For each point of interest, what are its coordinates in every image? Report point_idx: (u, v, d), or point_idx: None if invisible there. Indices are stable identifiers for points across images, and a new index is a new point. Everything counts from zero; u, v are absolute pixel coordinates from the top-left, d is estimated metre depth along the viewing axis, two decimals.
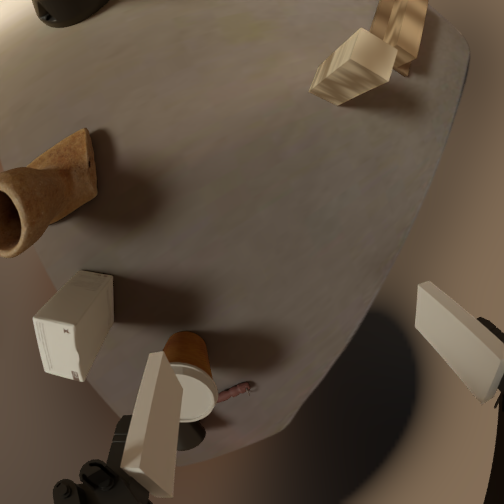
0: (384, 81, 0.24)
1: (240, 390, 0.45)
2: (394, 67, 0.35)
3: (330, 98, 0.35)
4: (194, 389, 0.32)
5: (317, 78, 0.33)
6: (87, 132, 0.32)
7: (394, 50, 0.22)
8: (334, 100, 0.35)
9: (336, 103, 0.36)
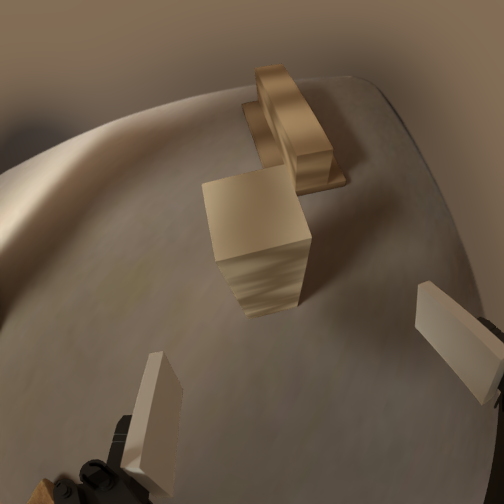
0: (305, 242, 0.14)
1: None
2: (324, 186, 0.30)
3: (278, 307, 0.25)
4: None
5: None
6: (47, 483, 0.18)
7: (280, 170, 0.15)
8: (286, 306, 0.25)
9: (292, 306, 0.26)
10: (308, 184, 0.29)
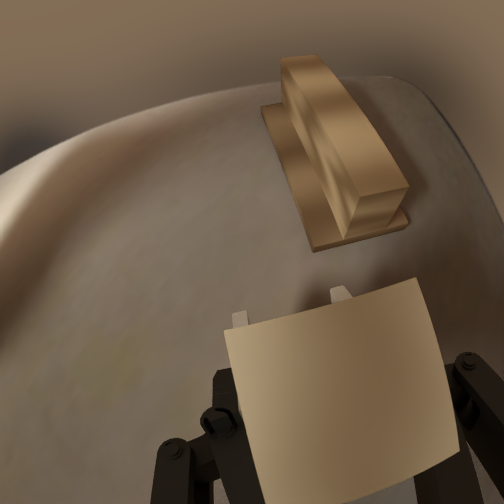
0: (443, 453, 0.05)
1: None
2: (381, 231, 0.21)
3: None
4: None
5: None
6: None
7: (409, 295, 0.06)
8: None
9: None
10: (362, 230, 0.20)
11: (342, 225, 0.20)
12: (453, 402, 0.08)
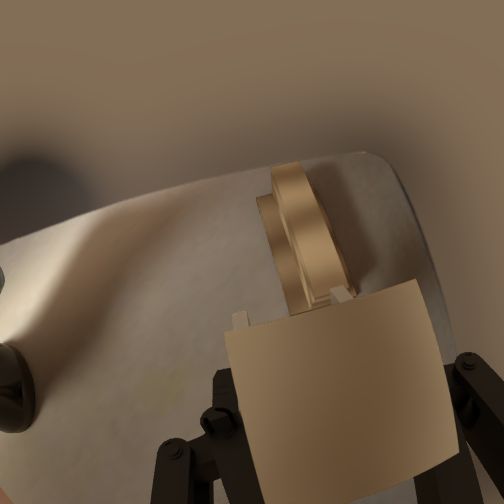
0: (442, 455, 0.05)
1: None
2: None
3: None
4: None
5: None
6: None
7: (409, 296, 0.06)
8: None
9: None
10: (322, 304, 0.32)
11: (309, 302, 0.32)
12: (453, 402, 0.08)
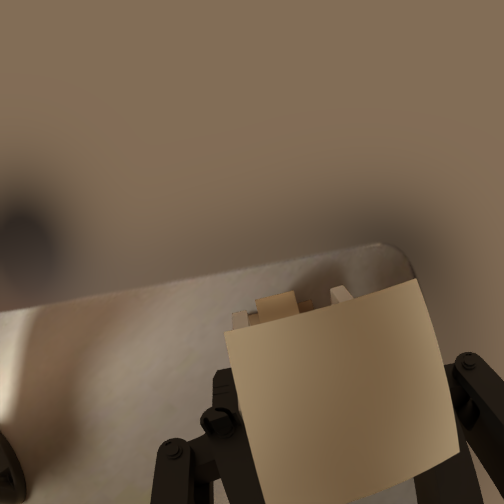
0: (443, 454, 0.05)
1: None
2: None
3: None
4: None
5: None
6: None
7: (409, 296, 0.06)
8: None
9: None
10: None
11: None
12: (453, 402, 0.08)
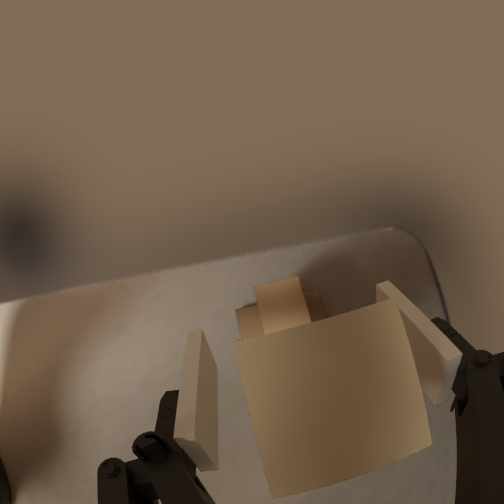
0: (418, 446, 0.06)
1: None
2: None
3: None
4: None
5: None
6: None
7: (387, 312, 0.07)
8: None
9: None
10: None
11: None
12: None
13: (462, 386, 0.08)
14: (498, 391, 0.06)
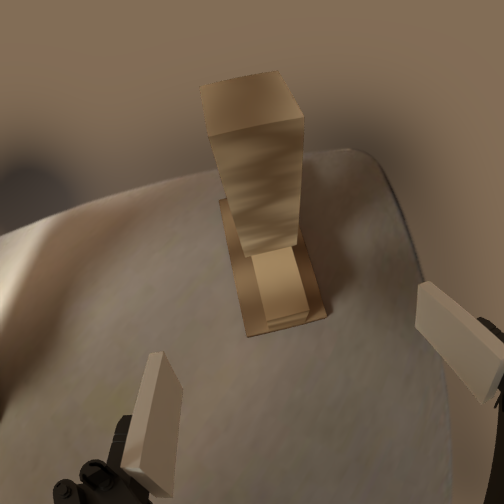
0: (298, 123, 0.13)
1: None
2: (302, 323, 0.28)
3: (276, 241, 0.24)
4: None
5: None
6: None
7: (273, 74, 0.14)
8: (284, 240, 0.24)
9: (291, 242, 0.25)
10: (283, 326, 0.27)
11: None
12: None
13: None
14: None
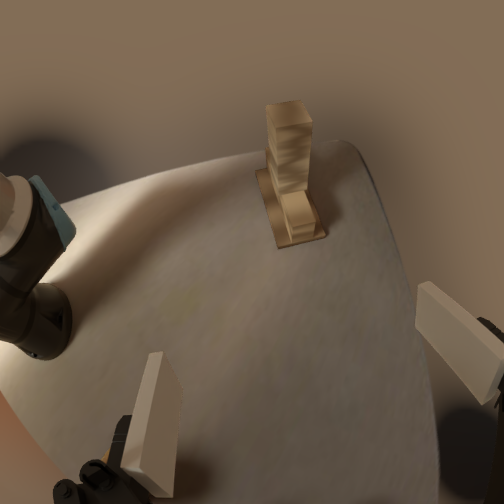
0: (310, 124, 0.32)
1: None
2: (311, 239, 0.48)
3: (296, 185, 0.43)
4: None
5: (275, 178, 0.43)
6: None
7: (298, 101, 0.34)
8: (300, 185, 0.43)
9: (304, 187, 0.44)
10: (300, 239, 0.47)
11: (290, 237, 0.47)
12: None
13: None
14: None
